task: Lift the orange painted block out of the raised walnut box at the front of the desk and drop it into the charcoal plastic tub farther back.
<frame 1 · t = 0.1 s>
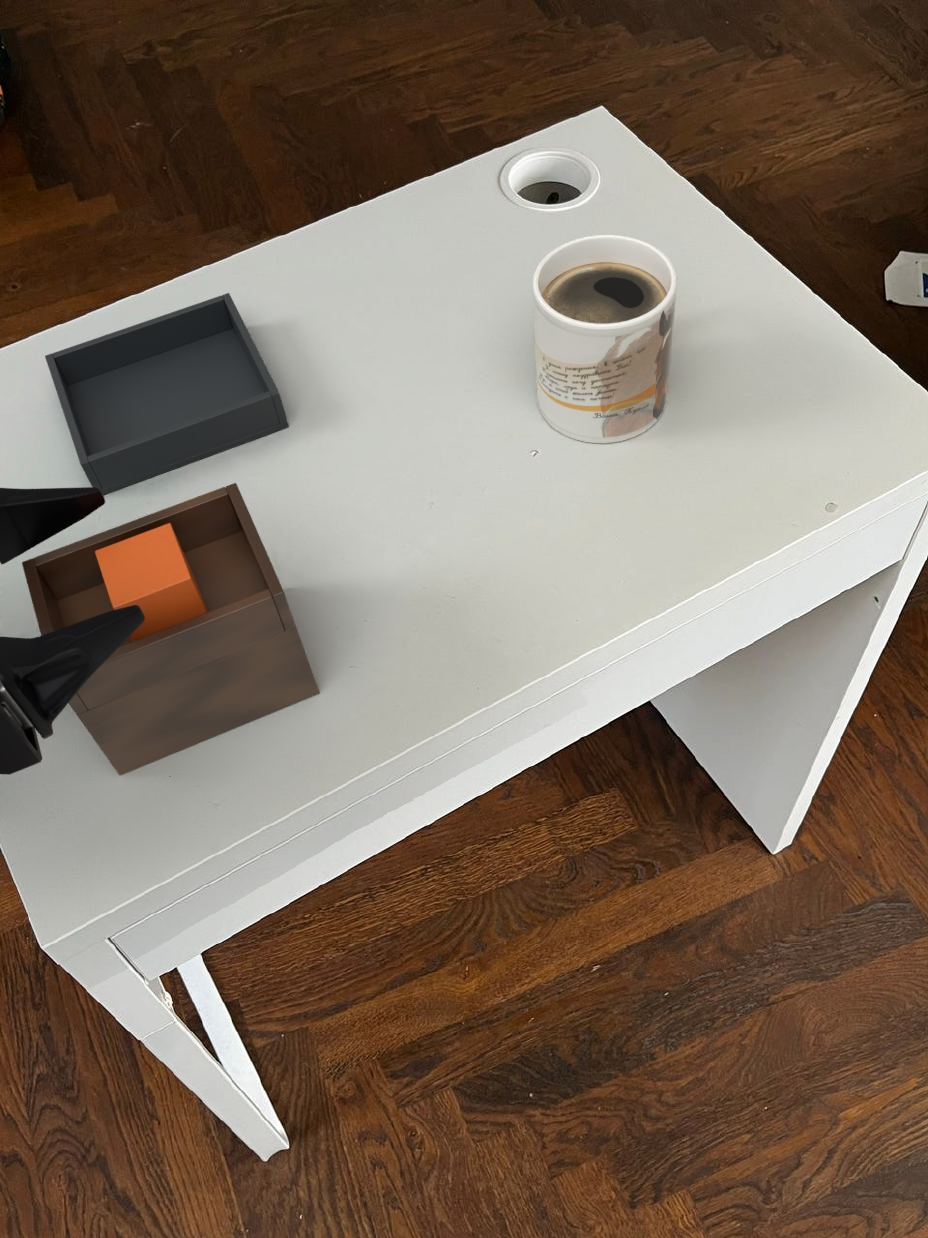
hand: (121, 551, 63), 15 cm above the table, tool horizontal, fingers open, 9 cm apart
block: (170, 620, 69), point 7 cm above the table, touching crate
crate: (201, 677, 75), on the table
mug: (610, 390, 88), on the table
tub: (172, 407, 90), on the table
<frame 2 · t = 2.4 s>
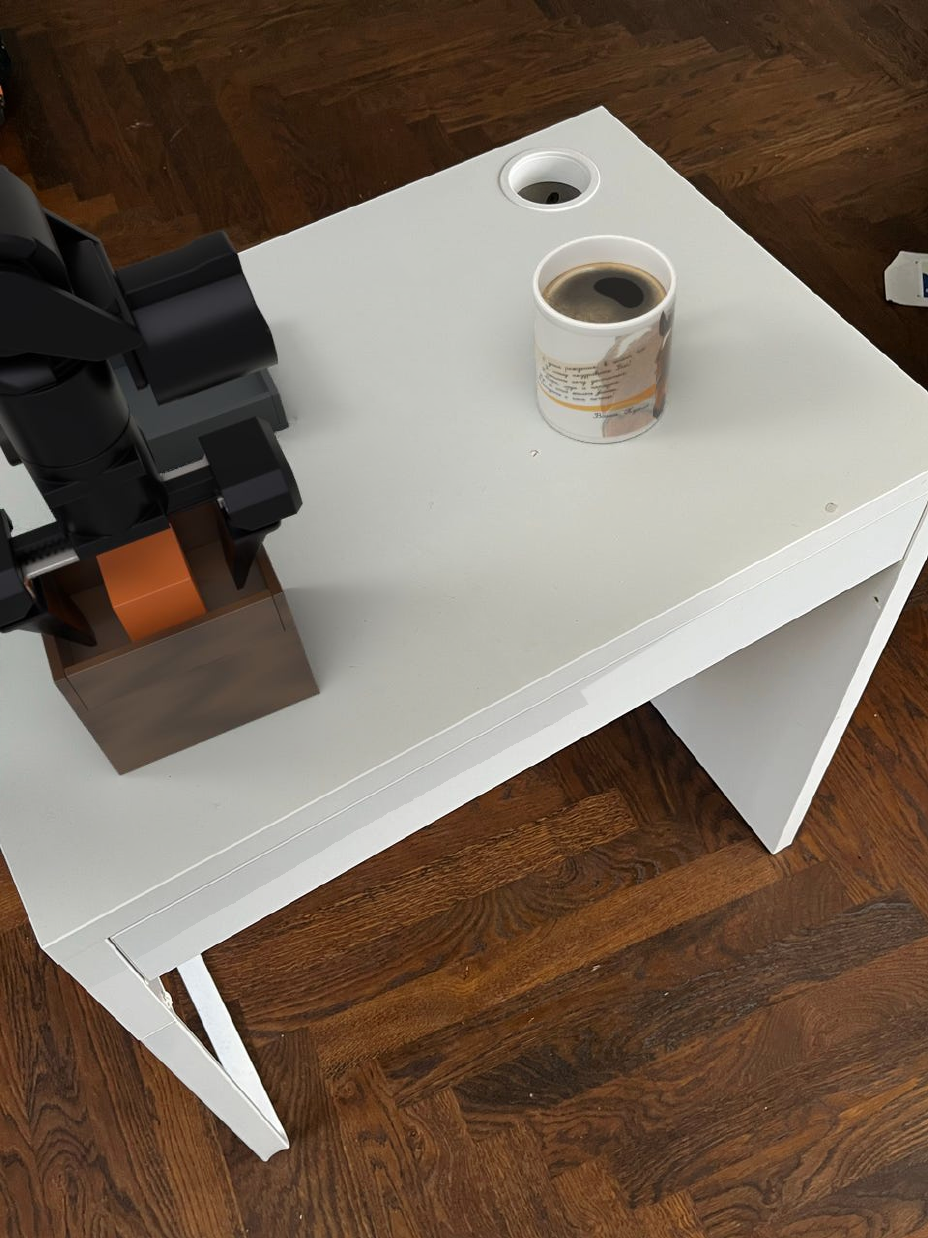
hand: (166, 611, 68), 8 cm above the table, tool pointing down, fingers open, 9 cm apart
nothing on the table moved.
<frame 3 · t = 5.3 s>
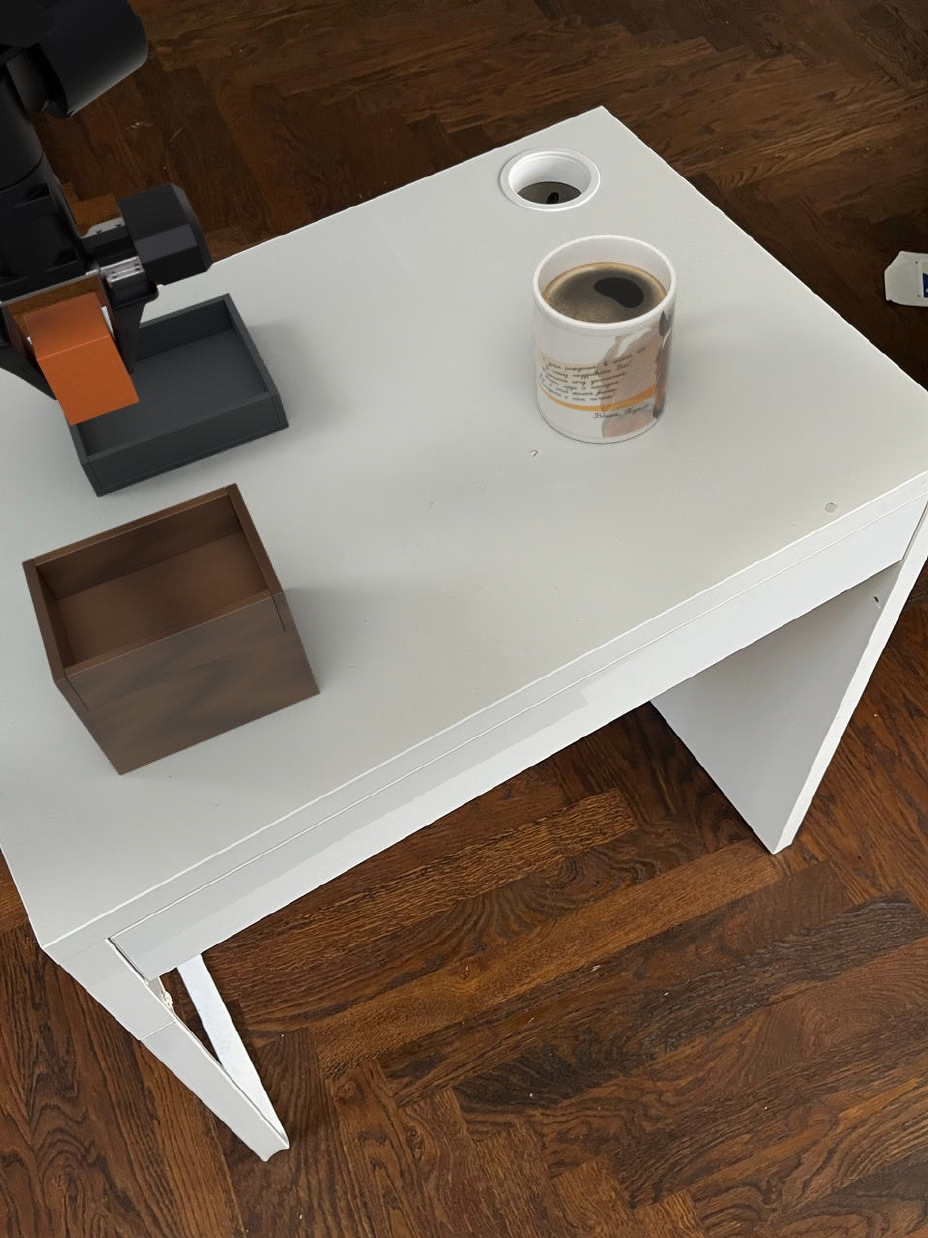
hand: (94, 382, 73), 13 cm above the table, tool pointing down, fingers closed on block, 4 cm apart
block: (97, 391, 74), point 13 cm above the table, touching gripper
everything else where it was.
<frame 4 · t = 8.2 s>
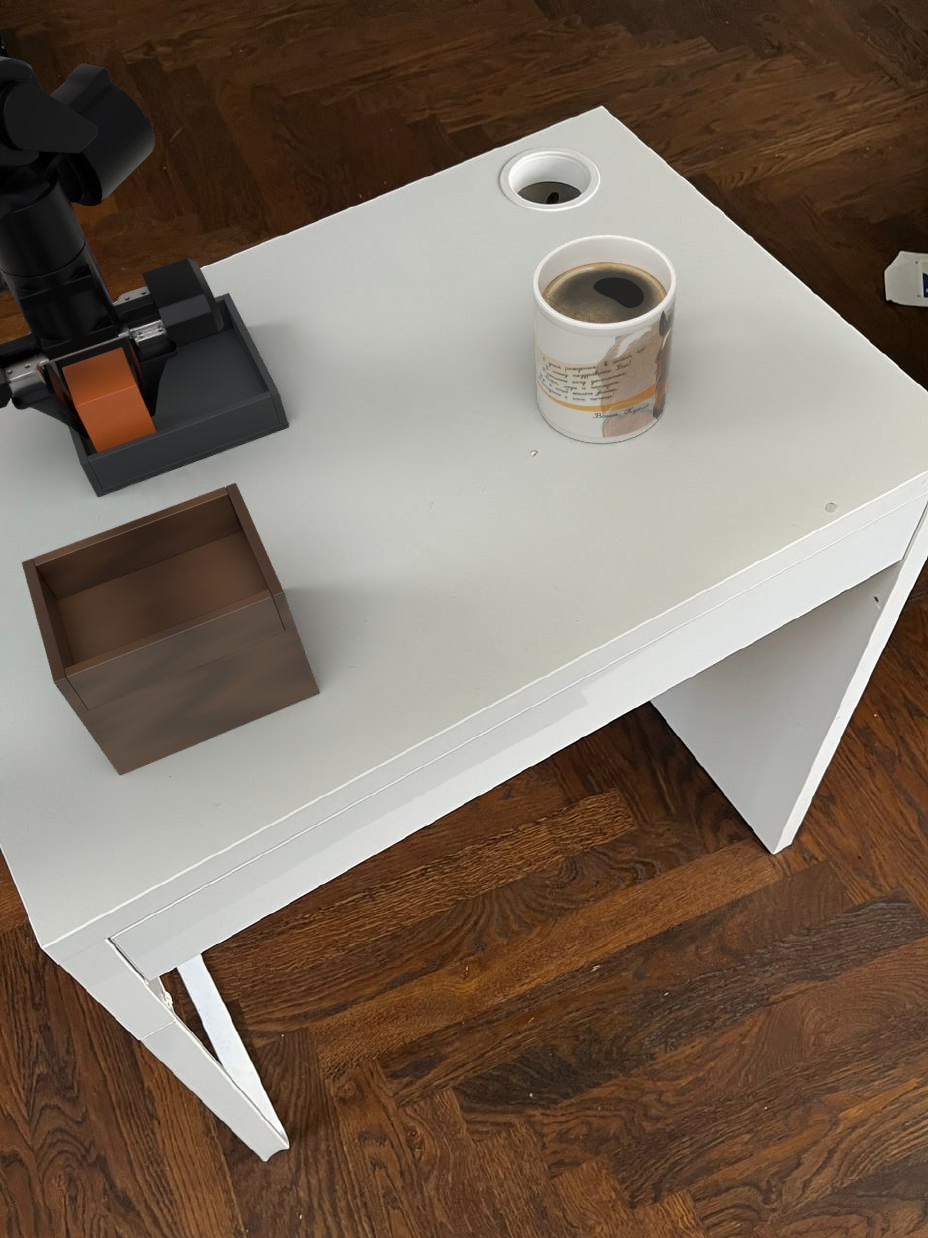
hand: (120, 423, 86), 3 cm above the table, tool pointing down, fingers closed on block, 4 cm apart
block: (123, 430, 86), point 2 cm above the table, touching gripper
everything else where it was.
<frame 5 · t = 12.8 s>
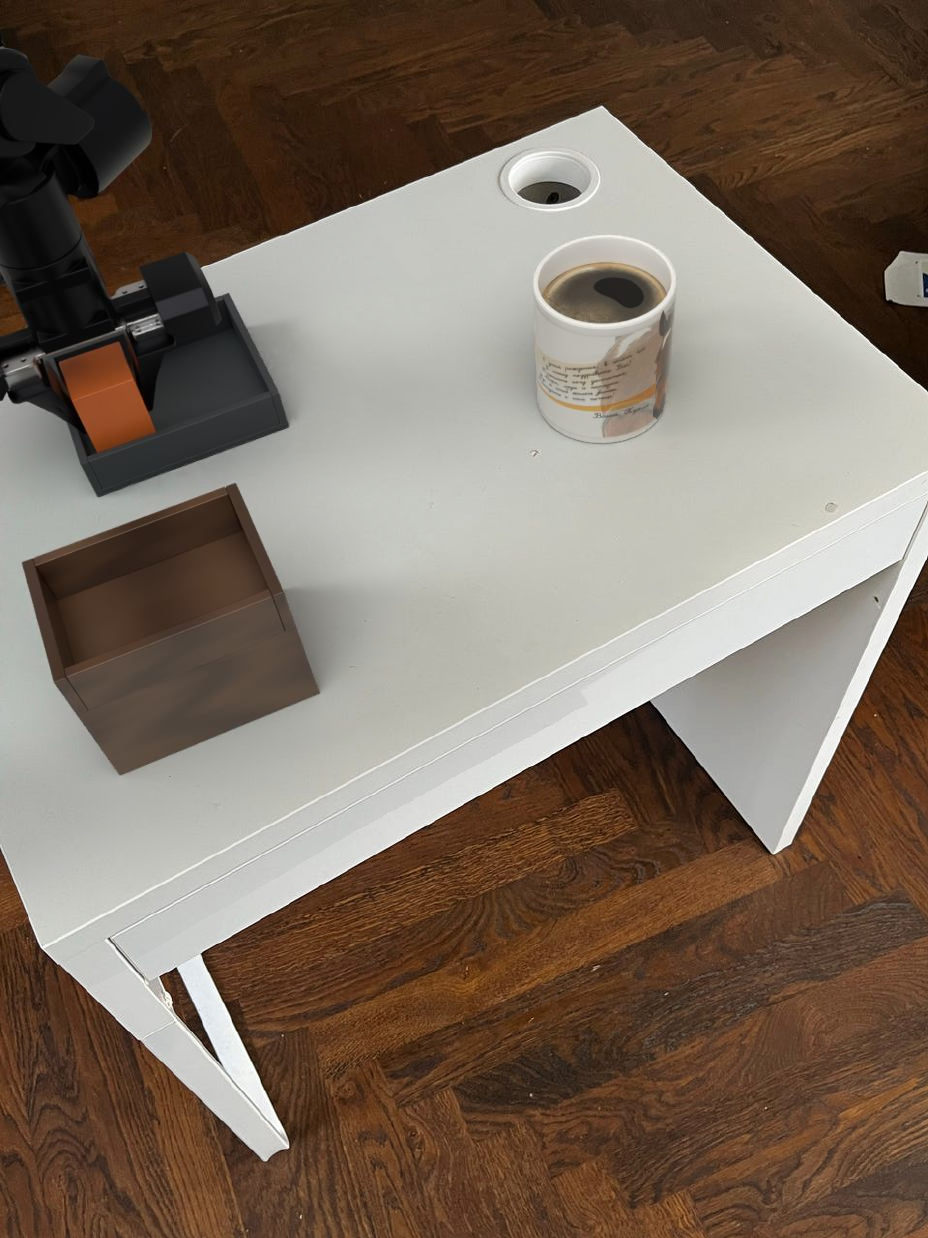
hand: (117, 418, 85), 3 cm above the table, tool pointing down, fingers closed on block, 4 cm apart
block: (120, 425, 86), point 3 cm above the table, touching gripper
everything else where it was.
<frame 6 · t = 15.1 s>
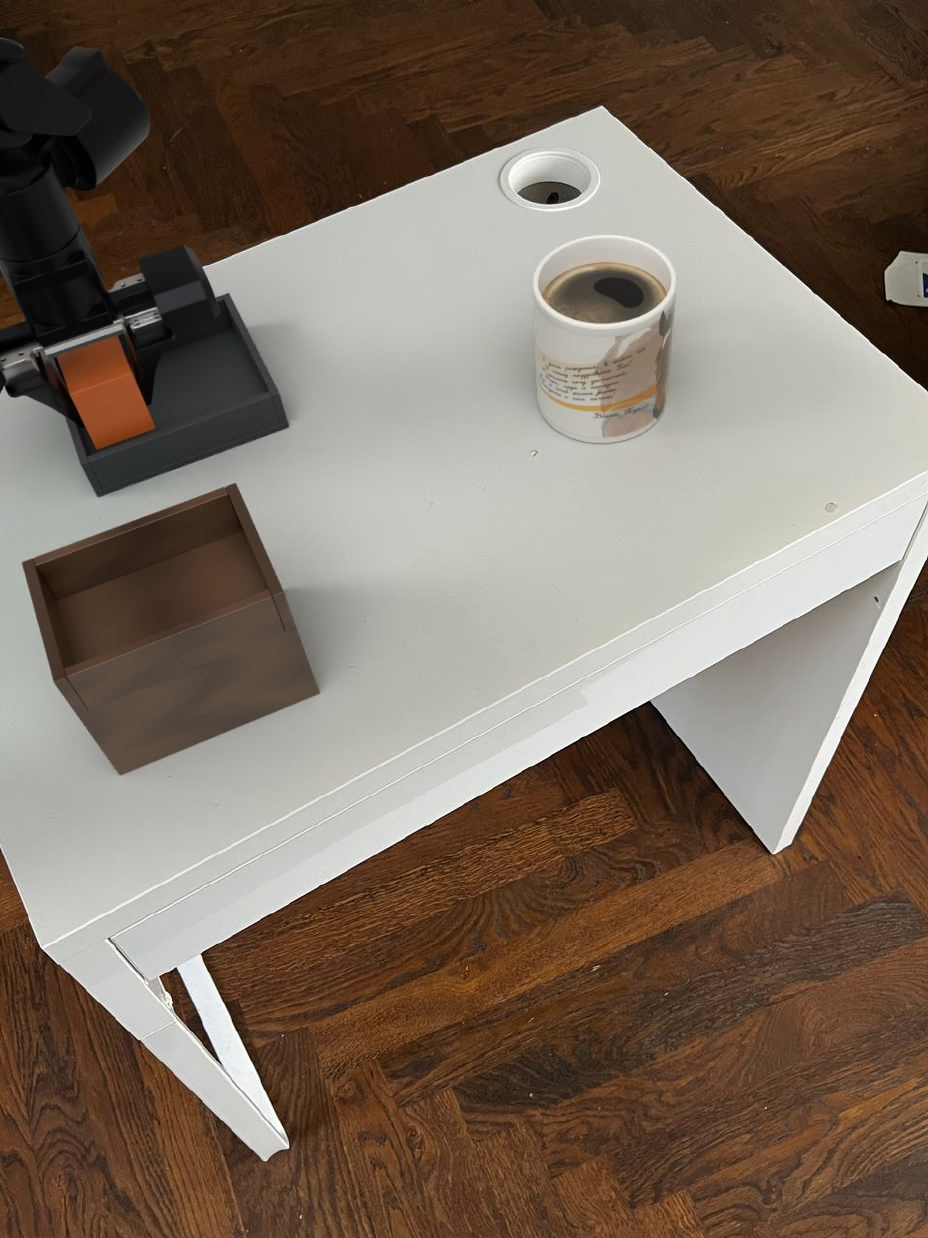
hand: (116, 412, 85), 4 cm above the table, tool pointing down, fingers closed on block, 4 cm apart
block: (119, 420, 85), point 3 cm above the table, touching gripper
everything else where it was.
when the fingers open (5 cm above the table, at t = 17.0 s): block drops 3 cm, resting on tub.
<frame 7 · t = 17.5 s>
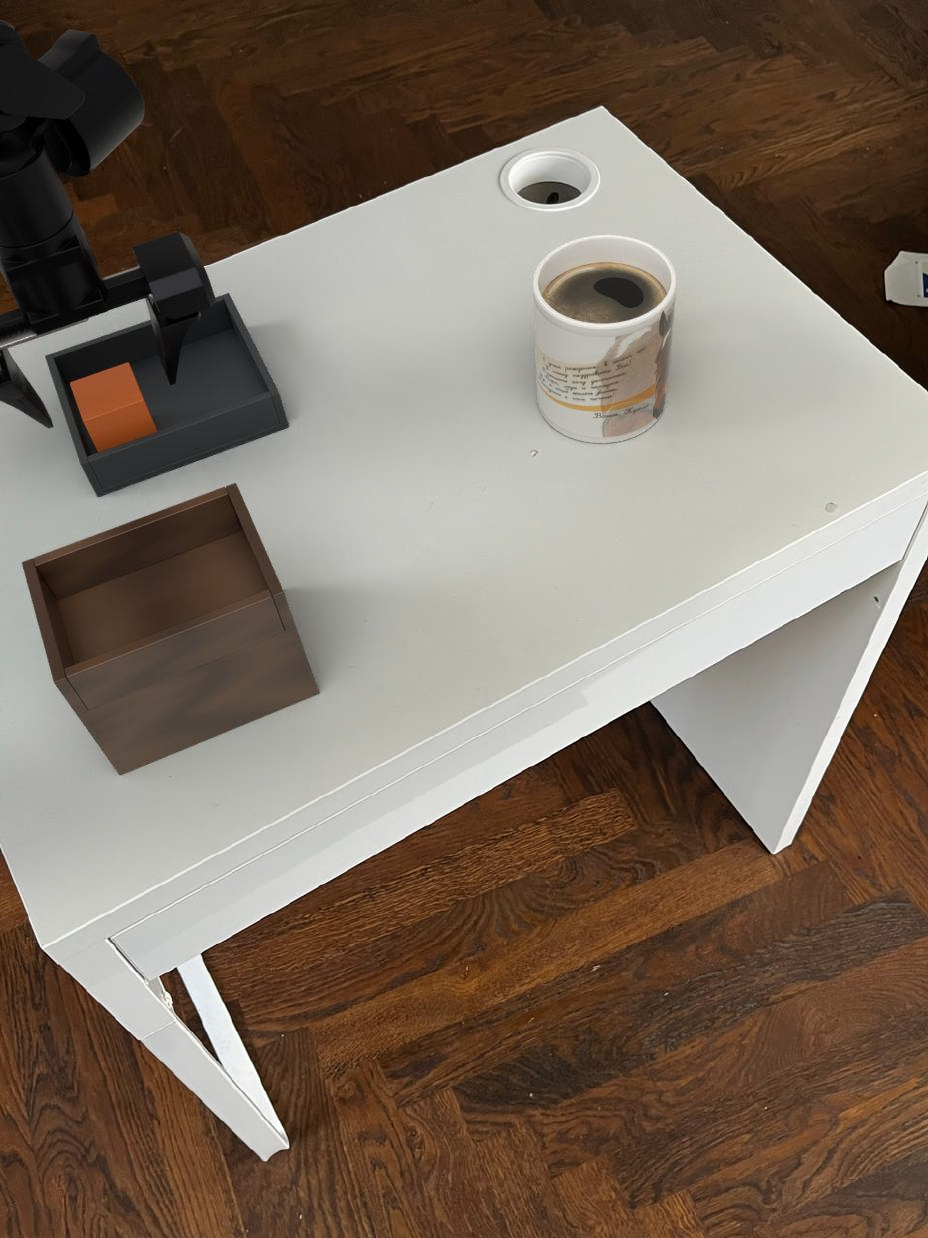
hand: (111, 402, 84), 5 cm above the table, tool pointing down, fingers open, 9 cm apart
block: (130, 443, 88), point 1 cm above the table, touching tub
everything else where it was.
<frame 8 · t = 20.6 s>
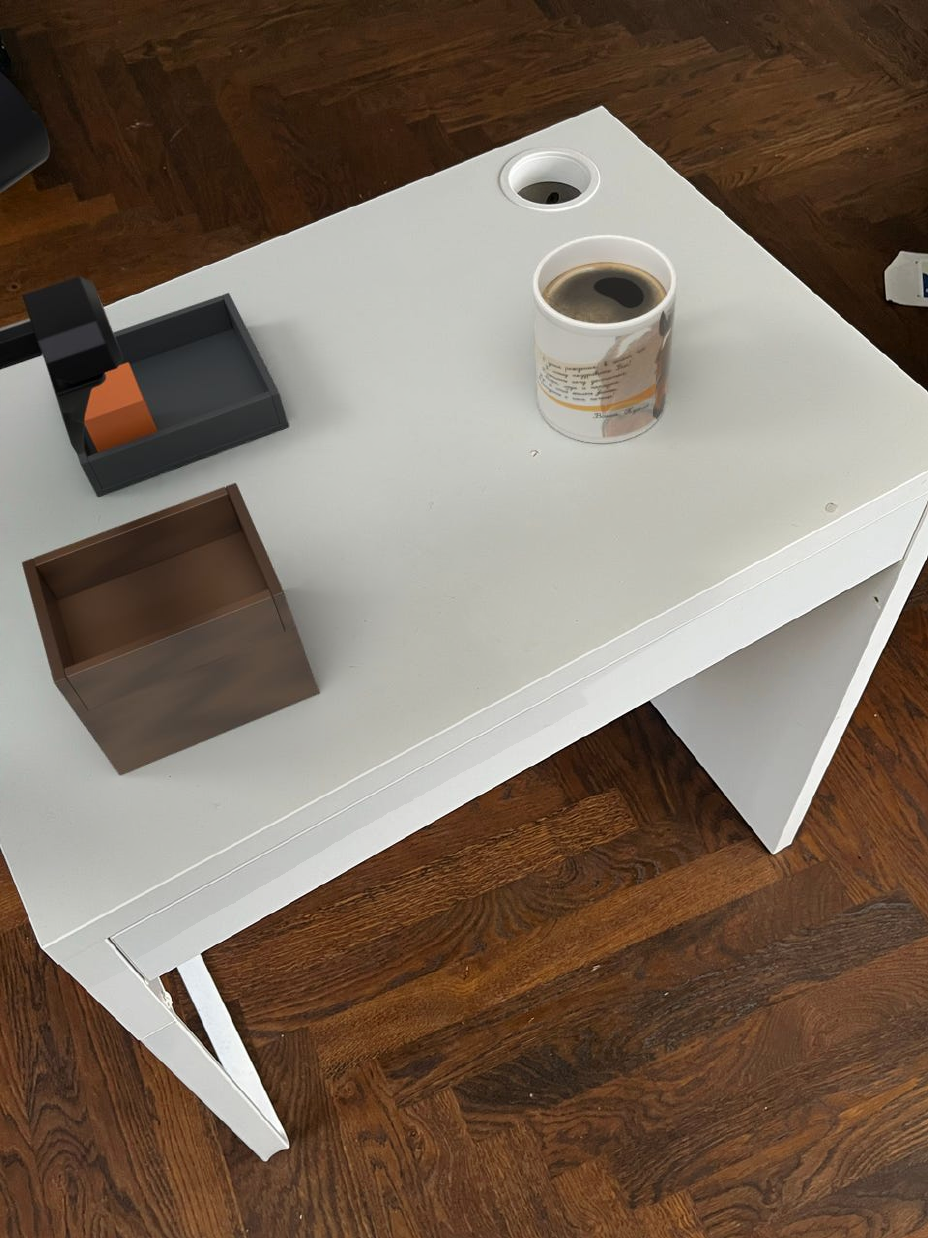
hand: (6, 475, 71), 12 cm above the table, tool pointing down, fingers open, 9 cm apart
nothing on the table moved.
at the end: block inside the target area in the tub (4.9 cm from its centre), point 0.6 cm above the tub's base; the gripper is holding nothing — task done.
